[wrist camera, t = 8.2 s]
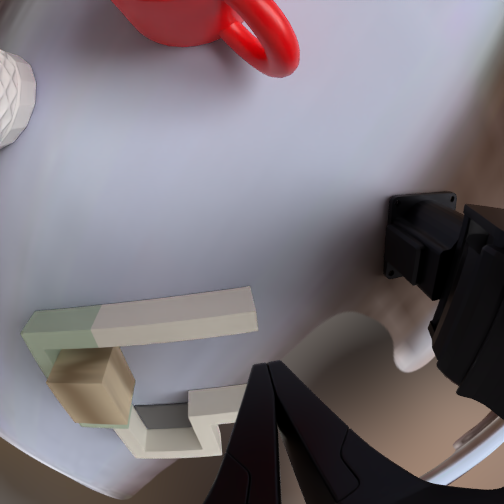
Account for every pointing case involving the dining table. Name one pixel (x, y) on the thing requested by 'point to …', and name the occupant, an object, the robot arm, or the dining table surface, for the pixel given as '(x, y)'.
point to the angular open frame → (151, 332)
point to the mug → (220, 28)
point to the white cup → (15, 96)
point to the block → (93, 385)
